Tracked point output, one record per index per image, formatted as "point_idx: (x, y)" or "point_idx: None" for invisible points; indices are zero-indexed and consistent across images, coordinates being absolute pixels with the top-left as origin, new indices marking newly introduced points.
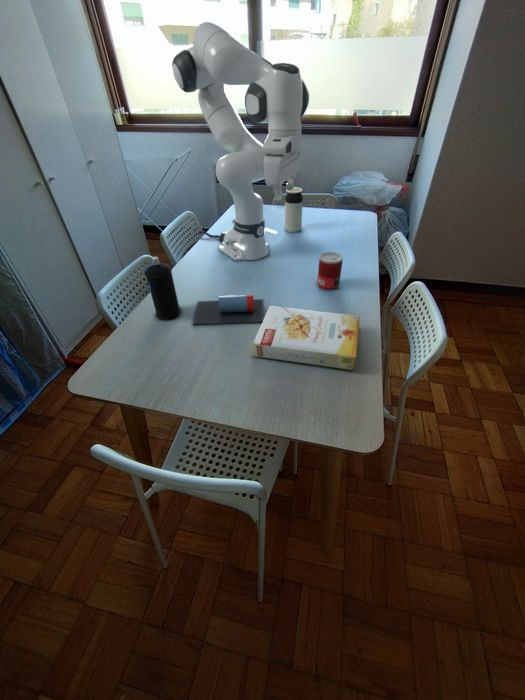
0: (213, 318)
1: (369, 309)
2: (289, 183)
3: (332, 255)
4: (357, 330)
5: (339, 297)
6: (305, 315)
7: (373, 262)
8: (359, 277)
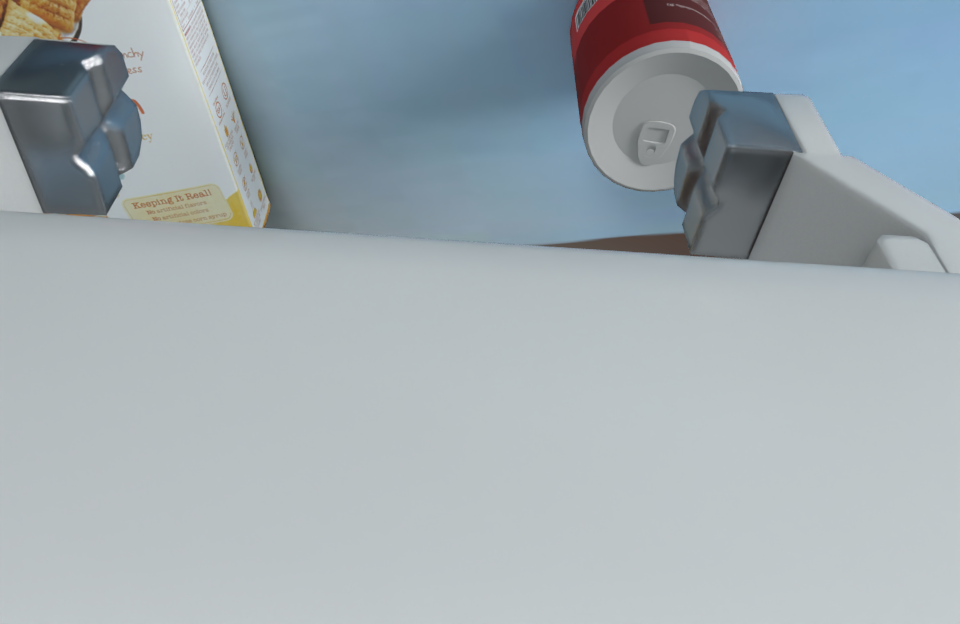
0: None
1: (441, 232)
2: (778, 197)
3: None
4: None
5: (507, 102)
6: (100, 26)
7: None
8: None
